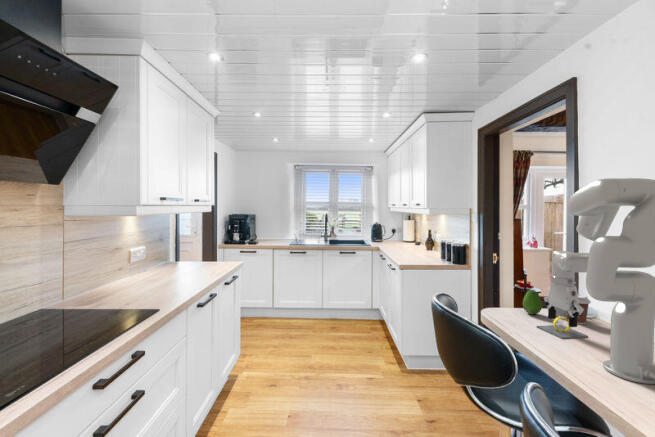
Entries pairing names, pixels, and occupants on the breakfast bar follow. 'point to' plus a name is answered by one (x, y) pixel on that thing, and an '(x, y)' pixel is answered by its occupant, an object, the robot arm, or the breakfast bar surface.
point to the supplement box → (560, 312)
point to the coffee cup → (584, 304)
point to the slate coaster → (562, 332)
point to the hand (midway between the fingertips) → (562, 322)
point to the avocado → (532, 302)
